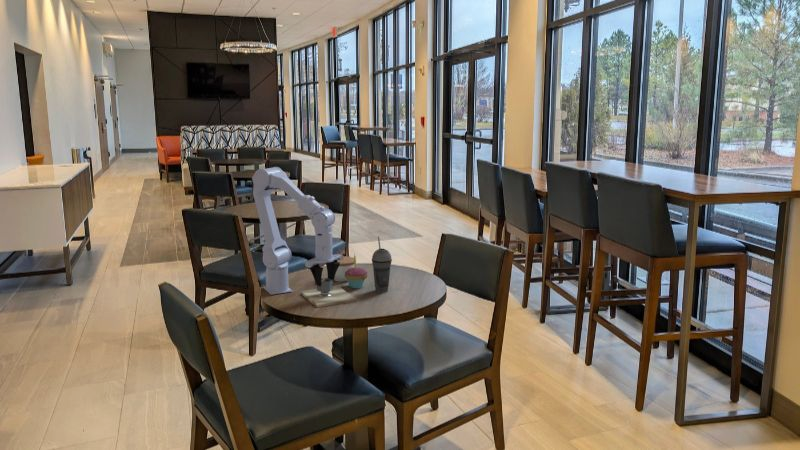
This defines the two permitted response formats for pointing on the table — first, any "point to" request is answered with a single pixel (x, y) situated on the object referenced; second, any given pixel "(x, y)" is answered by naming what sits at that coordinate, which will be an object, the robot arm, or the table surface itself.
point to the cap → (325, 285)
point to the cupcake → (355, 276)
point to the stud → (324, 294)
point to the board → (336, 297)
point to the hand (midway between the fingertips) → (324, 283)
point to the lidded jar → (344, 268)
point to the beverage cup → (381, 269)
